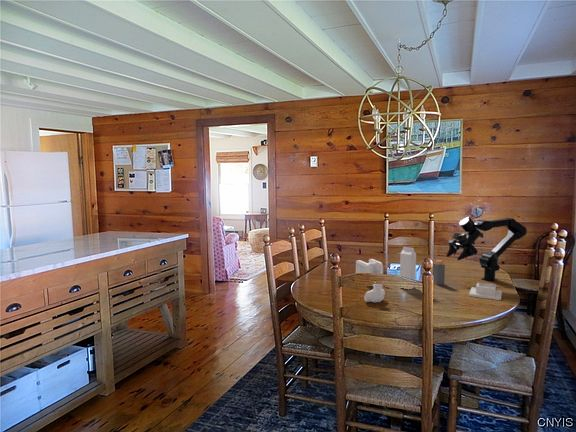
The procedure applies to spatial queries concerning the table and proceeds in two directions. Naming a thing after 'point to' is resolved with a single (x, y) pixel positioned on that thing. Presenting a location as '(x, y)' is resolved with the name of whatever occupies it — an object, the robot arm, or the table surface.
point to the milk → (408, 263)
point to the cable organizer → (369, 267)
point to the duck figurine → (375, 294)
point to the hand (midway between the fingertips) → (452, 258)
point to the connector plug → (438, 272)
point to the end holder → (485, 291)
